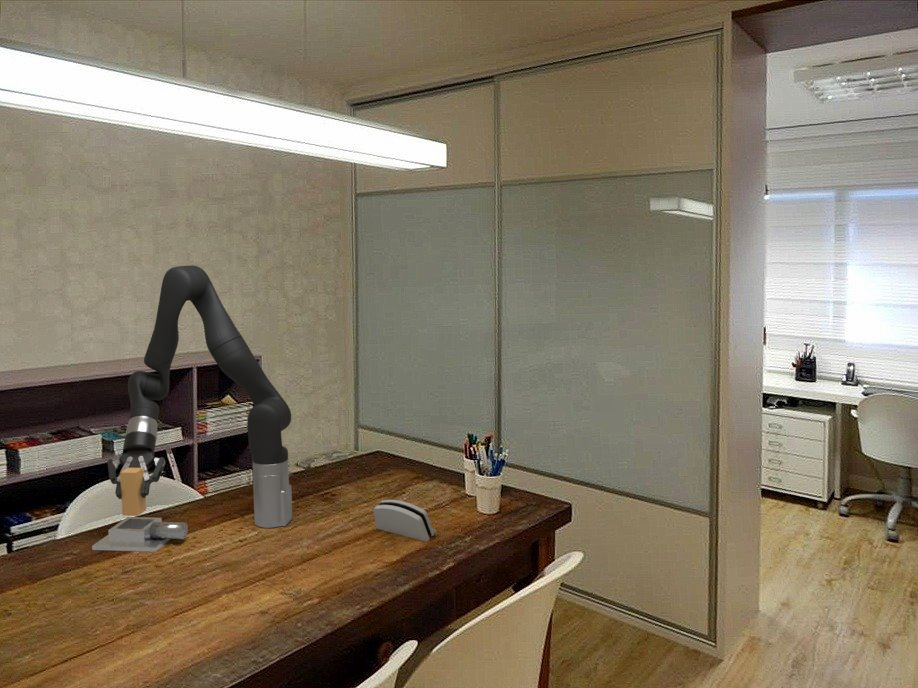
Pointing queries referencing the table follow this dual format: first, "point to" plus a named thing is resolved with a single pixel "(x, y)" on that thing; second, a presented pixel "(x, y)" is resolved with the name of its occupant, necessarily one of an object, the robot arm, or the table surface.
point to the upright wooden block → (132, 491)
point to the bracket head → (141, 534)
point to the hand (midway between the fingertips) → (131, 496)
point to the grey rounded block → (403, 519)
